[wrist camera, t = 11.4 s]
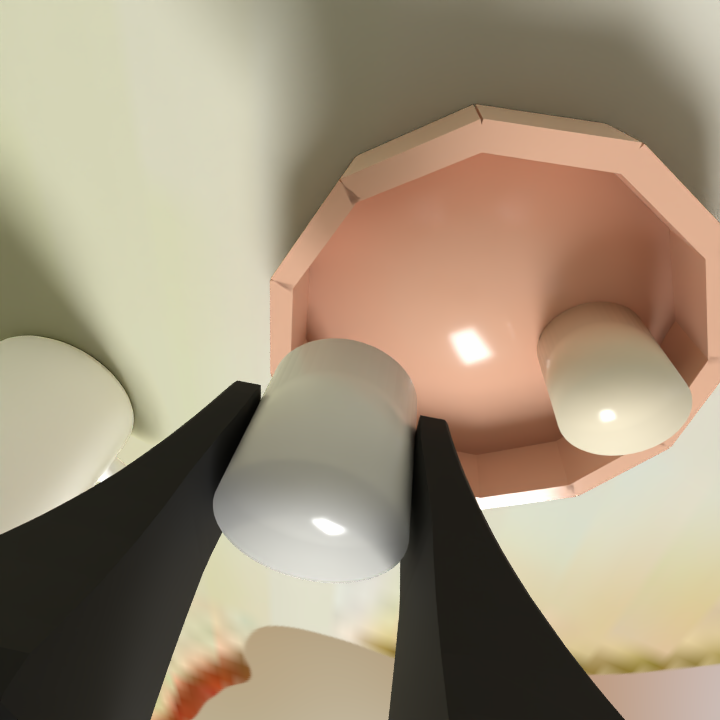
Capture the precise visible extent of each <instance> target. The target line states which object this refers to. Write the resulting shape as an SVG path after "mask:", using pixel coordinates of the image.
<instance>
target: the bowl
mask: <svg viewBox="0 0 720 720" xmlns="http://www.w3.org/2000/svg"><path fill="white" fill-rule="evenodd" d="M590 302H612V303H617V304H620V305H623V306H625V307H628V308H629V309H631V310H632V311H634V312H635V313H636V314H637V315H638V316H639V317H640V319H641V320H642V321H643V323H644V324H645V326H646V327H647V328H648V330H649V331H650V333H651V334H652V336H653V337H654V338H655V340H656V341H657V343H658V344H659V345H660V347H661V348H662V350H663V351H664V353H665V354H666V355H667V357H668V358H669V360H670V361H671V362H672V364H673V365H674V367H675V368H676V370H677V371H678V372H679V374H680V375H681V377H682V378H683V379H684V381H685V382H686V384H687V385H688V387H689V389H690V391H691V395H692V409H691V412H690V415H689V417H688V419H687V421H686V422H685V423H684V425H683V426H682V427H681V428H680V429H679V430H678V432H676V433H675V434H674V435H673V436H672V437H670V438H669V439H667V440H666V441H664V442H662V443H661V444H659V445H657V446H655V447H652V448H650V449H647V450H644V451H641V452H637V453H633V454H627V455H618V456H608V455H598V454H593V453H589V452H586V451H583V450H581V449H579V448H577V447H575V446H574V445H572V444H571V443H569V442H568V441H567V440H566V439H565V438H564V436H563V435H562V434H561V432H560V430H559V427H558V423H557V420H556V417H555V414H554V410H553V407H552V404H551V400H550V397H549V394H548V391H547V387H546V384H545V381H544V377H543V374H542V371H541V367H540V364H539V361H538V357H537V345H538V340H539V338H540V335H541V334H542V332H543V330H544V329H545V328H546V326H547V325H548V324H549V323H550V322H551V321H552V320H553V319H554V318H555V317H557V316H558V315H559V314H561V313H562V312H564V311H566V310H568V309H570V308H572V307H575V306H577V305H581V304H584V303H590ZM329 338H340V339H349V340H355V341H359V342H363V343H365V344H368V345H371V346H373V347H375V348H377V349H379V350H381V351H383V352H385V353H386V354H388V355H389V356H391V357H392V358H393V359H394V360H395V361H397V362H398V363H399V364H400V365H401V366H402V368H403V369H404V370H405V371H406V372H407V374H408V375H409V377H410V379H411V381H412V383H413V385H414V387H415V391H416V395H417V419H416V429H417V425H418V421H419V418H420V415H422V416H427V417H433V418H438V419H443V420H445V421H446V422H447V424H448V426H449V430H450V433H451V437H452V440H453V443H454V446H455V449H456V452H457V454H458V457H459V460H460V462H461V465H462V468H463V470H464V473H465V475H466V478H467V480H468V482H469V484H470V487H471V489H472V491H473V494H474V496H475V498H476V500H477V503H478V505H479V507H480V509H481V510H482V509H489V508H496V507H504V506H511V505H518V504H526V503H533V502H540V501H548V500H555V499H562V498H570V497H576V495H577V496H579V495H581V494H583V493H585V492H587V491H589V490H591V489H593V488H594V487H596V486H598V485H600V484H602V483H604V482H606V481H608V480H610V479H612V478H614V477H615V476H617V475H619V474H621V473H623V472H625V471H627V470H629V469H631V468H633V467H635V466H636V465H638V464H640V463H642V462H644V461H646V460H648V459H650V458H652V457H654V456H656V455H657V454H659V453H661V452H663V451H665V450H667V449H669V447H671V446H672V445H673V444H674V442H675V441H676V440H677V438H678V437H679V436H680V434H681V433H682V432H683V430H684V429H685V428H686V426H687V425H688V424H689V422H690V421H691V420H692V418H693V417H694V416H695V415H696V413H697V412H698V411H699V409H700V408H701V407H702V405H703V404H704V403H705V401H706V400H707V399H708V397H709V396H710V395H711V393H712V392H713V391H714V389H715V388H716V387H717V385H718V384H719V383H720V223H719V222H718V221H717V220H716V219H715V218H714V217H713V215H712V214H711V213H710V212H709V211H708V210H707V209H706V208H705V207H704V206H703V205H702V204H701V203H700V202H699V201H698V200H697V199H696V198H695V196H694V195H693V194H692V193H691V192H690V191H689V190H688V189H687V188H686V187H685V186H684V185H683V184H682V183H681V182H680V181H679V180H678V178H677V177H676V176H675V175H674V174H673V173H672V172H671V171H670V170H669V169H668V168H667V167H666V166H665V165H664V164H663V163H662V162H661V161H660V159H659V158H658V157H657V156H656V155H655V154H654V153H653V152H652V151H651V150H650V149H649V148H648V147H647V146H646V145H645V144H644V143H642V142H640V141H638V140H636V139H635V138H633V137H631V136H629V135H627V134H625V133H623V132H621V131H619V130H617V129H615V128H614V127H612V126H610V125H608V124H606V123H599V122H592V121H586V120H579V119H572V118H566V117H559V116H552V115H545V114H539V113H532V112H525V111H519V110H512V109H505V108H499V107H492V106H485V105H478V104H476V105H475V107H474V105H471V106H469V107H466V108H464V109H462V110H459V111H457V112H455V113H453V114H450V115H448V116H446V117H444V118H441V119H439V120H437V121H434V122H432V123H430V124H428V125H425V126H423V127H421V128H419V129H416V130H414V131H412V132H410V133H407V134H405V135H403V136H400V137H398V138H396V139H394V140H391V141H389V142H387V143H385V144H382V145H380V146H378V147H375V148H373V149H371V150H369V151H366V152H364V153H362V154H360V155H357V156H356V158H354V159H353V161H352V162H351V164H350V165H349V166H348V168H347V169H346V171H345V172H344V173H343V175H342V176H341V178H340V179H339V180H338V182H337V183H336V185H335V186H334V188H333V189H332V191H331V192H330V193H329V195H328V196H327V198H326V199H325V201H324V202H323V204H322V205H321V206H320V208H319V209H318V211H317V212H316V214H315V215H314V217H313V218H312V219H311V221H310V222H309V224H308V225H307V227H306V228H305V230H304V231H303V233H302V234H301V235H300V237H299V238H298V240H297V241H296V243H295V244H294V246H293V247H292V248H291V250H290V251H289V253H288V254H287V256H286V257H285V259H284V260H283V261H282V263H281V264H280V266H279V267H278V269H277V270H276V272H275V273H274V274H273V276H272V277H271V280H270V372H271V376H272V377H273V375H274V373H275V371H276V369H277V367H278V365H279V363H280V362H281V361H282V359H283V358H284V357H285V356H286V355H287V354H288V353H290V352H291V351H292V350H294V349H295V348H297V347H299V346H301V345H303V344H306V343H308V342H311V341H315V340H320V339H329Z"/></svg>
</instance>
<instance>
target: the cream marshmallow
mask: <svg viewBox="0 0 720 720" xmlns="http://www.w3.org/2000/svg"><path fill="white" fill-rule="evenodd" d="M537 357H538V361H539V364H540V367H541V371H542V374H543V377H544V381H545V384H546V387H547V391H548V394H549V397H550V400H551V404H552V407H553V410H554V414H555V417H556V420H557V423H558V427H559V430H560V432H561V434H562V435H563V436H564V438H565V439H566V440H567V441H568V442H569V443H571V444H572V445H574V446H575V447H577V448H579V449H581V450H583V451H586V452H589V453H593V454H598V455H608V456H618V455H627V454H633V453H637V452H641V451H644V450H647V449H650V448H652V447H655V446H657V445H659V444H661V443H662V442H664V441H666V440H667V439H669V438H670V437H672V436H673V435H674V434H675V433H676V432H678V430H679V429H680V428H681V427H682V426H683V425H684V423H685V422H686V421H687V419H688V417H689V415H690V412H691V409H692V395H691V391H690V389H689V387H688V385H687V384H686V382H685V381H684V379H683V378H682V377H681V375H680V374H679V372H678V371H677V370H676V368H675V367H674V365H673V364H672V362H671V361H670V360H669V358H668V357H667V355H666V354H665V353H664V351H663V350H662V348H661V347H660V345H659V344H658V343H657V341H656V340H655V338H654V337H653V336H652V334H651V333H650V331H649V330H648V328H647V327H646V326H645V324H644V323H643V321H642V320H641V319H640V317H639V316H638V315H637V314H636V313H635V312H634V311H632V310H631V309H629V308H628V307H625V306H623V305H620V304H617V303H612V302H590V303H584V304H581V305H577V306H575V307H572V308H570V309H568V310H566V311H564V312H562V313H561V314H559V315H558V316H557V317H555V318H554V319H553V320H552V321H551V322H550V323H549V324H548V325H547V326H546V328H545V329H544V330H543V332H542V334H541V335H540V338H539V340H538V345H537Z"/></svg>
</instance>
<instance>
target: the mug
mask: <svg viewBox="0 0 720 720" xmlns="http://www.w3.org/2000/svg"><path fill="white" fill-rule="evenodd" d="M133 423H134V414H133V409H132V405H131V403H130V400H129V398H128V395H127V394H126V392H125V390H124V388H123V387H122V385H121V384H120V383H119V381H118V380H117V379H116V378H115V377H114V375H113V374H112V373H111V372H110V371H109V370H108V369H107V368H106V367H104V366H103V365H102V364H101V363H100V362H98V361H97V360H96V359H94V358H93V357H91V356H90V355H88V354H87V353H85V352H83V351H82V350H80V349H78V348H76V347H74V346H71V345H69V344H66V343H64V342H61V341H58V340H54V339H51V338H45V337H40V336H30V335H28V336H16V337H11V338H7V339H4V340H2V341H0V534H3V533H5V532H7V531H9V530H11V529H13V528H15V527H17V526H20V525H22V524H24V523H26V522H28V521H30V520H32V519H34V518H36V517H38V516H40V515H42V514H44V513H46V512H48V511H50V510H52V509H54V508H56V507H57V506H59V505H61V504H63V503H65V502H67V501H69V500H70V499H72V498H74V497H76V496H78V495H79V494H81V493H83V492H85V491H87V490H88V489H90V488H92V487H93V486H94V485H95V484H96V482H97V481H100V482H102V481H104V480H105V479H107V478H108V477H110V476H112V475H113V474H115V473H117V472H118V471H120V470H121V469H123V468H124V467H126V466H127V465H126V464H125V463H124V462H123V461H121V460H120V459H119V458H117V455H118V453H119V452H120V451H121V449H122V448H123V447H124V445H125V443H126V442H127V440H128V438H129V437H130V435H131V432H132V429H133Z"/></svg>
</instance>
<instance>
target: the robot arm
mask: <svg viewBox="0 0 720 720" xmlns="http://www.w3.org/2000/svg"><path fill="white" fill-rule="evenodd" d="M260 401H261V385H258V384H252V383H247V382H242V381H236V382H234V383H233V384H232V385H230V386H229V387H228V388H227V389H226V390H225V391H223V392H222V393H221V394H220V395H219V396H218V397H217V398H215V399H214V400H213V401H212V402H211V403H209V404H208V405H207V406H206V407H205V408H204V409H202V410H201V411H200V412H199V413H198V414H196V415H195V416H194V417H193V418H191V419H190V420H189V421H188V422H186V423H185V424H184V425H182V426H181V427H180V428H179V429H177V430H176V431H175V432H174V433H172V434H171V435H170V436H168V437H167V438H166V439H164V440H163V441H162V442H160V443H159V444H157V445H156V446H155V447H153V448H152V449H150V450H149V451H148V452H146V453H145V454H143V455H142V456H141V457H139V458H138V459H136V460H135V461H133V462H132V463H130V464H129V465H127V466H126V467H124V468H123V469H121V470H120V471H118V472H117V473H115V474H113V475H112V476H110V477H108V478H107V479H105V480H104V481H102V482H100V483H99V484H97V485H95V486H94V487H92V488H90V489H88V490H87V491H85V492H83V493H81V494H79V495H78V496H76V497H74V498H72V499H70V500H69V501H67V502H65V503H63V504H61V505H59V506H57V507H56V508H54V509H52V510H50V511H48V512H46V513H44V514H42V515H40V516H38V517H36V518H34V519H32V520H30V521H28V522H26V523H24V524H22V525H20V526H17V527H15V528H13V529H11V530H9V531H7V532H5V533H3V534H0V720H150V719H151V716H152V713H153V710H154V707H155V704H156V701H157V698H158V695H159V693H160V690H161V687H162V684H163V681H164V678H165V675H166V672H167V669H168V666H169V663H170V661H171V658H172V655H173V652H174V649H175V647H176V644H177V641H178V638H179V636H180V633H181V630H182V627H183V624H184V622H185V619H186V616H187V613H188V611H189V608H190V606H191V603H192V600H193V598H194V595H195V592H196V590H197V587H198V584H199V582H200V579H201V577H202V574H203V572H204V569H205V567H206V565H207V563H208V560H209V558H210V556H211V554H212V552H213V550H214V548H215V546H216V544H217V542H218V540H219V538H220V536H221V534H222V531H221V529H220V527H219V525H218V524H217V521H216V519H215V516H214V511H213V499H214V495H215V492H216V490H217V488H218V486H219V484H220V481H221V479H222V477H223V475H224V473H225V471H226V469H227V467H228V465H229V463H230V461H231V459H232V457H233V455H234V453H235V451H236V449H237V447H238V445H239V443H240V441H241V439H242V437H243V435H244V433H245V431H246V429H247V427H248V425H249V423H250V421H251V419H252V417H253V415H254V413H255V411H256V409H257V407H258V405H259V403H260ZM388 720H625V719H624V718H623V717H622V716H621V715H620V714H619V713H618V711H617V710H616V709H615V708H614V707H613V705H612V704H611V703H610V702H609V701H608V699H607V698H606V697H605V696H604V695H603V694H602V692H601V691H600V690H599V689H598V687H597V686H596V685H595V684H594V683H593V681H592V680H591V679H590V677H589V676H588V675H587V674H586V672H585V671H584V670H583V668H582V667H581V666H580V665H579V663H578V662H577V661H576V659H575V658H574V657H573V655H572V654H571V653H570V652H569V650H568V649H567V648H566V646H565V645H564V644H563V642H562V641H561V639H560V638H559V637H558V635H557V634H556V632H555V631H554V630H553V628H552V627H551V625H550V624H549V622H548V621H547V620H546V618H545V617H544V615H543V614H542V613H541V611H540V610H539V608H538V607H537V605H536V604H535V603H534V601H533V600H532V598H531V597H530V595H529V594H528V592H527V591H526V589H525V587H524V586H523V584H522V583H521V581H520V579H519V578H518V576H517V575H516V573H515V572H514V570H513V568H512V566H511V565H510V563H509V561H508V560H507V558H506V556H505V555H504V553H503V551H502V549H501V548H500V546H499V544H498V542H497V540H496V538H495V537H494V535H493V533H492V531H491V529H490V527H489V525H488V523H487V521H486V519H485V517H484V515H483V513H482V511H481V509H480V507H479V505H478V503H477V500H476V498H475V496H474V494H473V491H472V489H471V487H470V484H469V482H468V480H467V478H466V475H465V473H464V470H463V468H462V465H461V462H460V460H459V457H458V454H457V452H456V449H455V446H454V443H453V440H452V437H451V433H450V430H449V426H448V424H447V422H446V421H445V420H443V419H438V418H433V417H427V416H422V415H420V418H419V421H418V425H417V429H416V433H415V449H414V466H413V484H412V500H411V517H410V533H409V544H408V548H407V551H406V553H405V555H404V557H403V558H402V559H401V560H400V608H399V622H398V632H397V643H396V653H395V663H394V673H393V683H392V692H391V702H390V711H389V719H388Z"/></svg>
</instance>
